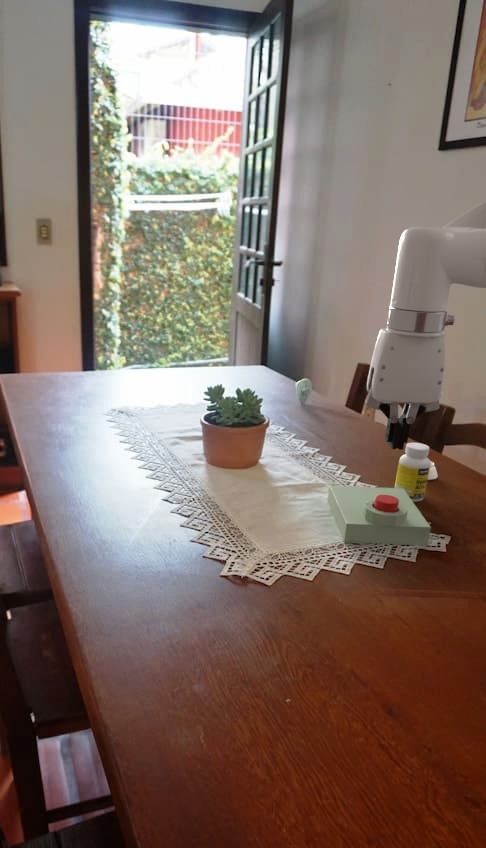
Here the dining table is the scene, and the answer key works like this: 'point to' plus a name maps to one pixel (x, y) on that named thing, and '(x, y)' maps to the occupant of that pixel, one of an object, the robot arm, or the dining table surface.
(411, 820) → the dining table surface
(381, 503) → the button
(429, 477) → the small white bowl
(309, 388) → the pale green rock
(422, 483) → the supplement bottle
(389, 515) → the red button box
